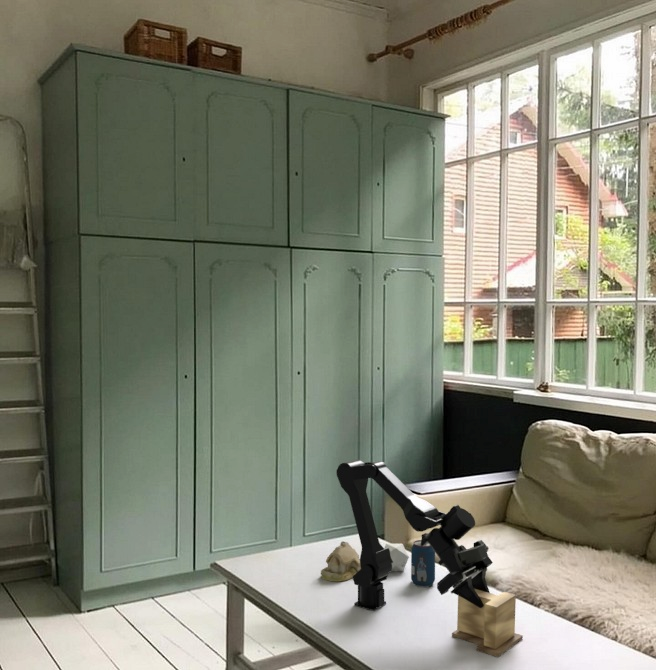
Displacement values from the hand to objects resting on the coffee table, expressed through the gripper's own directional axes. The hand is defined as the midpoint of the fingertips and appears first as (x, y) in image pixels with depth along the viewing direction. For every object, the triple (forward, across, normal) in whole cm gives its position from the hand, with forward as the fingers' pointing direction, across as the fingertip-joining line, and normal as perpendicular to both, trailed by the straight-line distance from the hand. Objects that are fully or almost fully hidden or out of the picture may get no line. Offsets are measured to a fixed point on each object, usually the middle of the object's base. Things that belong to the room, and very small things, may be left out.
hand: (486, 604), depth 187 cm
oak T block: (+6, 0, +6) cm, 8 cm away
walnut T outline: (+6, 0, +6) cm, 9 cm away
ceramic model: (-33, +14, +46) cm, 58 cm away
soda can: (-17, +23, +30) cm, 41 cm away
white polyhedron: (-26, +28, +39) cm, 54 cm away
